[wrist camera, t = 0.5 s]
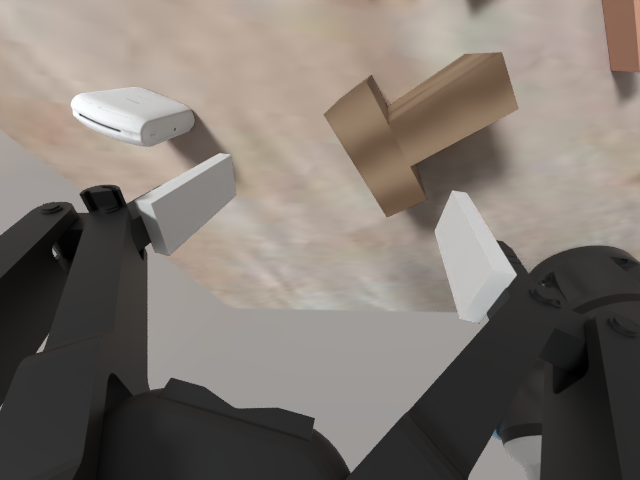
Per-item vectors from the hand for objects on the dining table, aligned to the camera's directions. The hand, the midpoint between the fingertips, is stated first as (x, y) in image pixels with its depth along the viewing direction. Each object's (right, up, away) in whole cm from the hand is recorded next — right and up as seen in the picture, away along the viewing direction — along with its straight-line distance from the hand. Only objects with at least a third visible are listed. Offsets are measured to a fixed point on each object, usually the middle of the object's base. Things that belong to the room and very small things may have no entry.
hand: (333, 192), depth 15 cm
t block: (+12, +15, +19) cm, 27 cm away
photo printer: (-26, +19, +26) cm, 42 cm away
